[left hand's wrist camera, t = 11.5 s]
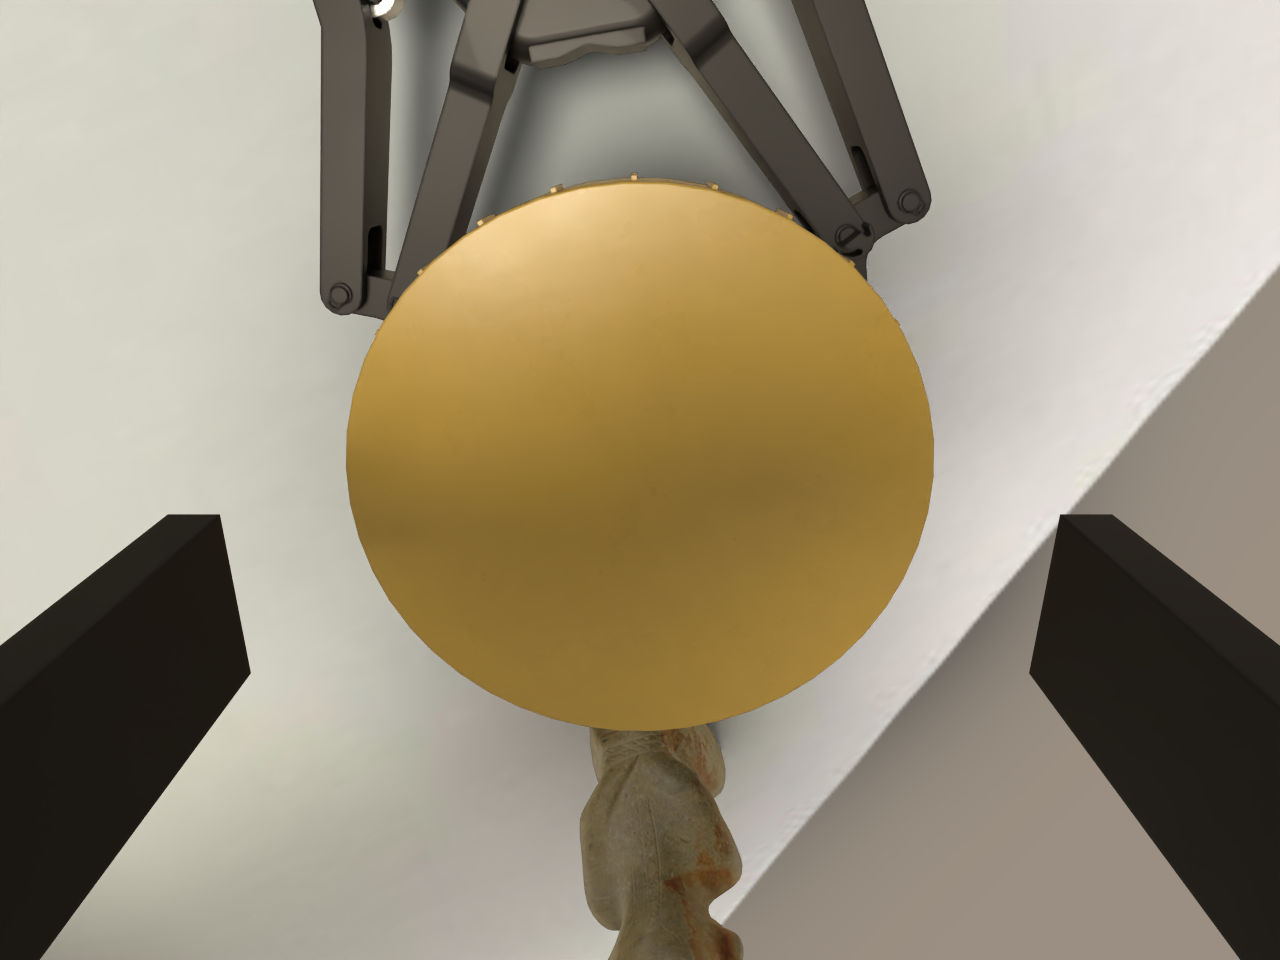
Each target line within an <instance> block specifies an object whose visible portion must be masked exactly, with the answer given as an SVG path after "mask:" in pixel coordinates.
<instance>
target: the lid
mask: <svg viewBox="0 0 1280 960" xmlns="http://www.w3.org/2000/svg"><path fill="white" fill-rule="evenodd" d="M718 186H719V185H717V184H715V183H713V182H710V181H707V184H706V185H704V184H698V183H692V182H685V181H679V180H673V179H666V178H637V173H632V174H631V178H617V179H609V180H601V181H593V182H586V183H582V184H578V185H574V186H571V187H567V188H563V185H562V184H559V185H556V186H554V187H552V188H550V191H551V192H549V193H546V194H544V195H541V196H539V197H537V198H534V199H532V200H530V201H527V202H525V203H523V204H520V205H518V206H516V207H513V208H511V209H509V210H507V211H505V212H503V213H501V214H499V215H497V216H496V217H495V215H494V214H492V215H489V216H487V217H485V218H483V219H481V220H479V221H478V222H477V224H478V226H479V227H477V228H476V229H474V230H472V231H471V232H469V233H467V234H466V235H464V236H463V237H461V238H460V239H459V240H458V241H457V242H455V243H454V244H453V245H452V246H450V247H449V248H448V249H447V250H445V251H444V252H443V253H442V254H441V255H439V256H438V257H437V258H436V259H434V260H433V261H432V262H431V263H430V264H428V265H426V266H425V267H423V268H421V269H420V270H419V271H418V272H417V273H418V274H419V276H418V277H417V278H416V279H415V280H414V281H413V282H412V283H411V285H410V286H409V287H408V288H407V289H406V290H405V291H404V292H403V294H402V295H401V297H400V298H399V300H398V301H397V303H396V304H395V305H394V307H393V308H392V310H391V311H390V313H389V314H388V316H387V317H386V319H385V320H384V322H383V323H382V324H381V326H380V329H378V330H377V332H376V334H375V335H376V337H375V339H374V341H373V343H372V345H371V347H370V349H369V351H368V353H367V355H366V357H365V359H364V362H363V365H362V369H361V372H360V375H359V378H358V381H357V384H356V387H355V390H354V393H353V398H352V404H351V410H350V416H349V422H348V428H347V447H346V472H347V481H348V489H349V498H350V505H351V509H352V512H353V516H354V520H355V524H356V528H357V532H358V536H359V539H360V541H361V544H362V546H363V549H364V551H365V554H366V556H367V558H368V561H369V563H370V566H371V568H372V571H373V572H374V574H375V576H376V578H377V579H378V581H379V583H380V585H381V586H382V588H383V590H384V592H385V593H386V595H387V597H388V599H389V600H390V602H391V603H392V604H393V606H394V607H395V608H396V610H397V611H398V612H399V614H400V615H401V616H402V618H403V619H404V620H405V622H406V623H407V624H408V626H409V627H410V628H411V629H412V630H413V631H414V632H415V633H416V634H417V635H418V636H419V638H420V639H421V640H422V641H423V642H424V643H425V644H426V645H427V646H428V647H429V648H430V649H431V650H432V651H433V652H434V653H435V654H436V655H438V656H439V657H440V658H441V659H443V660H444V661H445V662H446V663H448V664H449V665H450V666H451V667H452V668H454V669H455V670H456V671H457V672H459V673H460V674H461V675H463V676H464V677H466V678H468V679H469V680H471V681H472V682H474V683H475V684H477V685H479V686H480V687H482V688H483V689H485V690H486V691H488V692H490V693H492V694H494V695H496V696H498V697H500V698H502V699H504V700H506V701H508V702H510V703H512V704H514V705H516V706H519V707H521V708H524V709H526V710H529V711H532V712H535V713H538V714H541V715H543V716H546V717H549V718H552V719H556V720H560V721H565V722H569V723H573V724H577V725H582V726H587V727H595V728H603V729H611V730H626V731H657V730H667V729H678V728H687V727H692V726H697V725H702V724H707V723H712V722H716V721H721V720H724V719H727V718H730V717H733V716H736V715H739V714H742V713H745V712H749V711H752V710H754V709H756V708H758V707H761V706H763V705H765V704H767V703H770V702H772V701H774V700H776V699H778V698H781V697H783V696H785V695H786V694H788V693H790V692H791V691H793V690H795V689H796V688H798V687H800V686H801V685H803V684H805V683H806V682H808V681H810V680H811V679H813V678H814V677H816V676H817V675H818V674H820V673H821V672H822V671H823V670H825V669H826V668H827V667H829V666H830V665H831V664H833V663H834V662H835V661H837V660H838V659H839V658H840V657H841V656H842V655H843V654H844V653H845V652H846V651H847V650H848V649H850V648H851V647H852V646H853V645H854V644H855V643H856V642H857V641H858V640H859V639H860V638H861V637H862V636H863V635H864V634H865V633H866V631H867V630H868V629H869V628H870V626H871V625H872V624H873V623H874V621H875V620H876V619H877V618H878V616H879V615H880V614H881V613H882V611H883V610H884V609H885V608H886V606H887V604H888V603H889V601H890V600H891V598H892V596H893V595H894V593H895V591H896V590H897V588H898V586H899V585H900V583H901V582H902V580H903V578H904V576H905V574H906V572H907V570H908V567H909V565H910V563H911V561H912V558H913V556H914V554H915V552H916V549H917V547H918V544H919V541H920V538H921V534H922V531H923V527H924V524H925V521H926V517H927V514H928V509H929V502H930V496H931V489H932V482H933V467H934V438H933V431H932V423H931V416H930V408H929V402H928V399H927V395H926V392H925V388H924V385H923V381H922V378H921V374H920V370H919V367H918V365H917V363H916V360H915V358H914V356H913V354H912V352H911V349H910V347H909V345H908V343H907V340H906V338H905V336H904V334H903V332H902V330H901V329H900V327H899V326H900V324H899V322H898V321H897V320H896V319H894V318H893V316H892V314H891V313H890V311H889V310H888V308H887V307H886V305H885V303H884V302H883V300H882V299H881V298H880V297H879V295H878V294H877V293H876V292H875V291H874V290H873V288H872V287H871V286H870V285H869V284H868V283H867V281H866V280H865V279H864V278H863V277H862V276H861V274H860V273H859V272H858V271H857V270H856V269H855V268H854V267H853V266H854V265H855V264H854V263H853V261H851V260H849V259H848V258H846V257H844V256H842V255H840V254H838V253H837V252H836V251H835V250H834V249H832V248H831V247H830V246H829V245H828V244H827V243H825V242H824V241H823V240H821V239H820V238H818V237H816V236H815V235H813V234H812V233H810V232H809V231H807V230H806V229H804V228H803V227H801V226H799V225H798V224H796V223H795V222H793V221H792V218H793V216H792V215H791V214H789V213H787V212H784V211H782V210H780V209H778V208H777V210H776V211H775V212H774V211H772V210H770V209H768V208H766V207H763V206H761V205H759V204H757V203H755V202H753V201H751V200H748V199H746V198H744V197H742V196H740V195H736V194H733V193H730V192H727V191H723V190H720V189H718Z"/></svg>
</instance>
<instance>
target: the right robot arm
mask: <svg viewBox="0 0 1280 960" xmlns="http://www.w3.org/2000/svg"><path fill="white" fill-rule="evenodd" d="M454 1H455V2H456V3H457V5H458V6H459V7H460V8H461V9H462V10H463V11H464V12H465V17H464V20H463V24H462V27H461V31H460V34H459V38H458V41H457V45H456V48H455V51H454V55H453V59H452V63H451V67H450V82H449V87H448V91H447V94H446V98H445V101H444V105H443V108H442V112H441V115H440V119H439V122H438V126H437V129H436V132H435V136H434V139H433V143H432V146H431V150H430V153H429V157H428V160H427V164H426V167H425V170H424V174H423V177H422V181H421V184H420V188H419V191H418V195H417V198H416V202H415V205H414V209H413V212H412V215H411V219H410V222H409V226H408V229H407V233H406V236H405V240H404V243H403V247H402V250H401V253H400V257H399V260H398V264H397V267H396V271H395V272H394V271H389V270H385V264H386V233H387V202H388V171H389V140H390V109H391V78H392V45H391V37H390V29H389V24H388V21H389V20H392V19H394V18H396V17H397V16H398V15H399V14H400V12H401V10H402V9H403V5H404V0H313V2H314V6H315V9H316V12H317V15H318V19H319V22H320V25H321V172H320V295H321V300H322V302H323V303H324V305H325V307H326V308H328V309H329V310H330V311H331V312H333V313H335V314H338V315H349V314H351V313H353V314H358V315H363V316H369V317H374V318H378V319H381V320H385V319H386V317H387V316H388V314H389V313H390V311H391V310H392V308H393V307H394V305H395V304H396V303H397V301H398V300H399V298H400V297H401V295H402V294H403V292H404V291H405V290H406V289H407V288H408V287H409V286H410V285H411V283H412V282H413V281H414V280H415V279H416V278H417V277H418V276H419V274H418V273H417V272H418V271H419V270H420V269H421V268H423V267H425V266H426V265H428V264H430V263H431V262H432V261H433V260H434V259H436V258H437V257H438V256H439V255H441V254H442V253H443V252H444V251H445V250H447V249H448V248H449V247H450V246H452V245H453V244H454V243H455V242H457V241H458V240H459V239H460V238H461V237H463V236H464V235H465V234H466V231H467V228H468V225H469V221H470V218H471V215H472V212H473V209H474V206H475V202H476V199H477V196H478V193H479V190H480V186H481V183H482V180H483V177H484V174H485V170H486V167H487V164H488V161H489V158H490V155H491V151H492V148H493V145H494V142H495V139H496V135H497V132H498V129H499V126H500V123H501V119H502V116H503V113H504V110H505V107H506V105H507V102H508V101H509V99H510V97H511V95H512V92H513V89H514V86H515V83H516V80H517V77H518V74H519V71H520V68H521V64H522V63H524V64H527V65H531V66H536V67H537V68H539V69H543V68H549V67H555V66H560V65H566V64H568V63H570V62H572V61H574V60H576V59H578V58H580V57H582V56H584V55H586V54H588V53H590V52H598V53H607V54H615V55H623V54H628V53H634V52H640V51H645V50H646V47H647V46H649V45H651V44H653V43H654V42H656V41H657V40H659V39H660V38H661V37H662V38H663V39H664V41H665V42H666V43H667V45H668V46H669V47H670V49H671V50H672V51H673V53H674V54H675V55H676V57H677V58H678V59H679V61H680V62H681V63H682V65H683V66H684V67H685V68H686V69H687V70H688V71H689V72H690V74H691V75H692V76H693V77H694V79H695V80H696V82H697V83H698V84H699V86H700V87H701V88H702V90H703V91H704V92H705V94H706V95H707V97H708V98H709V99H710V101H711V102H712V103H713V105H714V106H715V107H716V109H717V110H718V111H719V113H720V114H721V116H722V117H723V118H724V120H725V121H726V122H727V124H728V125H729V126H730V128H731V129H732V131H733V132H734V133H735V135H736V136H737V137H738V139H739V140H740V141H741V143H742V144H743V146H744V147H745V148H746V150H747V151H748V152H749V154H750V155H751V156H752V158H753V159H754V161H755V162H756V163H757V165H758V166H759V167H760V169H761V170H762V171H763V173H764V174H765V176H766V177H767V178H768V180H769V181H770V182H771V184H772V185H773V186H774V188H775V189H776V191H777V192H778V193H779V195H780V196H781V197H782V199H783V200H784V201H785V203H786V204H787V206H788V207H789V208H790V210H791V211H792V212H793V214H794V215H795V216H796V218H797V219H798V221H799V222H800V223H801V225H802V226H803V227H804V229H806V230H807V231H809V232H810V233H812V234H813V235H815V236H816V237H818V238H820V239H821V240H823V241H824V242H825V243H827V244H828V245H829V246H830V247H831V248H832V249H834V250H835V251H836V252H837V253H838V254H840V255H842V256H844V257H846V258H848V259H849V260H851V261H853V263H854V264H855V265H854V266H853V267H854V268H855V269H856V270H857V271H858V272H859V273H860V274H861V276H862V277H863V278H864V279H865V280H866V281H867V271H866V260H867V255H868V253H869V252H870V251H871V250H872V247H873V245H874V243H875V242H876V241H877V240H878V239H880V238H881V237H882V236H884V235H886V234H888V233H890V232H892V231H893V230H895V229H897V228H899V227H901V226H903V225H904V224H911V223H915V222H918V221H919V220H920V219H922V218H923V217H924V216H925V215H926V213H927V212H928V210H929V209H930V204H931V193H930V189H929V186H928V184H927V181H926V178H925V175H924V172H923V169H922V166H921V163H920V160H919V157H918V155H917V152H916V149H915V146H914V143H913V140H912V137H911V134H910V131H909V129H908V126H907V123H906V120H905V117H904V114H903V111H902V108H901V105H900V103H899V100H898V97H897V94H896V91H895V88H894V85H893V82H892V79H891V76H890V74H889V71H888V68H887V65H886V62H885V59H884V56H883V53H882V50H881V48H880V45H879V42H878V39H877V36H876V33H875V30H874V27H873V24H872V21H871V19H870V16H869V13H868V10H867V7H866V4H865V1H864V0H792V3H793V6H794V8H795V11H796V14H797V16H798V19H799V22H800V25H801V27H802V30H803V33H804V35H805V38H806V41H807V43H808V46H809V49H810V51H811V54H812V57H813V59H814V62H815V65H816V67H817V70H818V73H819V75H820V78H821V81H822V84H823V86H824V89H825V92H826V94H827V97H828V100H829V102H830V105H831V108H832V110H833V113H834V116H835V118H836V121H837V124H838V126H839V129H840V132H841V134H842V137H843V140H844V143H845V145H846V148H847V151H848V153H849V156H850V159H851V161H852V164H853V167H854V169H855V172H856V175H857V177H858V180H859V183H860V185H861V188H862V191H861V192H859V193H858V194H856V195H854V196H852V197H850V198H849V199H848V198H847V196H846V195H845V193H844V192H843V190H842V189H841V188H840V186H839V185H838V183H837V182H836V181H835V179H834V178H833V176H832V175H831V173H830V172H829V171H828V169H827V168H826V166H825V165H824V164H823V162H822V161H821V159H820V158H819V157H818V155H817V154H816V152H815V151H814V149H813V148H812V147H811V145H810V144H809V142H808V141H807V140H806V138H805V137H804V135H803V134H802V132H801V131H800V130H799V128H798V127H797V125H796V124H795V123H794V121H793V120H792V118H791V117H790V115H789V114H788V113H787V111H786V110H785V108H784V107H783V106H782V104H781V103H780V101H779V100H778V99H777V97H776V96H775V94H774V93H773V91H772V90H771V89H770V87H769V86H768V84H767V83H766V82H765V80H764V79H763V77H762V76H761V74H760V73H759V72H758V70H757V69H756V67H755V66H754V65H753V63H752V62H751V60H750V59H749V58H748V56H747V55H746V53H745V52H744V50H743V49H742V48H741V46H740V45H739V43H738V42H737V41H736V39H735V38H734V36H733V35H732V33H731V31H730V29H729V27H728V25H727V23H726V21H725V19H724V17H723V16H722V14H721V13H720V11H719V10H718V8H717V7H716V6H715V4H714V3H713V1H712V0H454Z"/></svg>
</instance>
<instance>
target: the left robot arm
mask: <svg viewBox="0 0 1280 960" xmlns="http://www.w3.org/2000/svg"><path fill="white" fill-rule="evenodd" d="M250 674H251V672H250V667H249V661H248V656H247V651H246V646H245V641H244V636H243V631H242V626H241V621H240V615H239V610H238V605H237V600H236V595H235V590H234V585H233V580H232V574H231V569H230V564H229V559H228V554H227V549H226V544H225V539H224V534H223V528H222V523H221V518H220V515H167V516H165V517H164V518H163V519H161V520H160V521H159V522H158V523H156V524H155V525H154V526H153V527H151V528H150V529H149V530H147V531H146V532H145V533H144V534H142V535H141V536H140V537H138V538H137V539H136V540H135V541H133V542H132V543H131V544H130V545H128V546H127V547H126V548H124V549H123V550H122V551H121V552H119V553H118V554H117V555H115V556H114V557H113V558H112V559H110V560H109V561H108V562H107V563H105V564H104V565H103V566H101V567H100V568H99V569H98V570H96V571H95V572H94V573H92V574H91V575H90V576H89V577H87V578H86V579H85V580H84V581H82V582H81V583H80V584H78V585H77V586H76V587H75V588H73V589H72V590H71V591H69V592H68V593H67V594H66V595H64V596H63V597H62V598H61V599H59V600H58V601H57V602H55V603H54V604H53V605H52V606H50V607H49V608H48V609H46V610H45V611H44V612H43V613H41V614H40V615H39V616H38V617H36V618H35V619H34V620H32V621H31V622H30V623H29V624H27V625H26V626H25V627H23V628H22V629H21V630H20V631H18V632H17V633H16V634H15V635H13V636H12V637H11V638H9V639H8V640H7V641H6V642H4V643H3V644H2V645H0V960H40V959H41V957H42V956H43V955H44V953H45V952H46V950H47V949H48V948H49V946H50V945H51V944H52V942H53V941H54V940H55V938H56V937H57V936H58V934H59V933H60V931H61V930H62V929H63V927H64V926H65V925H66V923H67V922H68V921H69V919H70V918H71V917H72V915H73V914H74V912H75V911H76V910H77V908H78V907H79V906H80V904H81V903H82V902H83V900H84V899H85V898H86V896H87V895H88V893H89V892H90V891H91V889H92V888H93V887H94V885H95V884H96V883H97V881H98V880H99V879H100V877H101V876H102V874H103V873H104V872H105V870H106V869H107V868H108V866H109V865H110V864H111V862H112V861H113V860H114V858H115V857H116V855H117V854H118V853H119V851H120V850H121V849H122V847H123V846H124V845H125V843H126V842H127V841H128V839H129V838H130V836H131V835H132V834H133V832H134V831H135V830H136V828H137V827H138V826H139V824H140V823H141V822H142V820H143V819H144V817H145V816H146V815H147V813H148V812H149V811H150V809H151V808H152V807H153V805H154V804H155V803H156V801H157V800H158V798H159V797H160V796H161V794H162V793H163V792H164V790H165V789H166V788H167V786H168V785H169V784H170V782H171V781H172V779H173V778H174V777H175V775H176V774H177V773H178V771H179V770H180V769H181V767H182V766H183V765H184V763H185V762H186V760H187V759H188V758H189V756H190V755H191V754H192V752H193V751H194V750H195V748H196V747H197V746H198V744H199V743H200V741H201V740H202V739H203V737H204V736H205V735H206V733H207V732H208V731H209V729H210V728H211V727H212V725H213V724H214V722H215V721H216V720H217V718H218V717H219V716H220V714H221V713H222V712H223V710H224V709H225V708H226V706H227V705H228V703H229V702H230V701H231V699H232V698H233V697H234V695H235V694H236V693H237V691H238V690H239V689H240V687H241V686H242V684H243V683H244V682H245V680H246V679H247V678H248V676H249V675H250ZM1029 674H1030V675H1031V676H1032V678H1033V679H1034V680H1035V682H1036V683H1037V684H1038V686H1039V687H1040V689H1041V690H1042V691H1043V693H1044V694H1045V695H1046V697H1047V698H1048V699H1049V701H1050V702H1051V703H1052V705H1053V706H1054V708H1055V709H1056V710H1057V712H1058V713H1059V714H1060V716H1061V717H1062V718H1063V720H1064V721H1065V722H1066V724H1067V725H1068V727H1069V728H1070V729H1071V731H1072V732H1073V733H1074V735H1075V736H1076V737H1077V739H1078V740H1079V741H1080V743H1081V744H1082V746H1083V747H1084V748H1085V750H1086V751H1087V752H1088V754H1089V755H1090V756H1091V758H1092V759H1093V760H1094V762H1095V763H1096V764H1097V766H1098V767H1099V769H1100V770H1101V771H1102V773H1103V774H1104V775H1105V777H1106V778H1107V779H1108V781H1109V782H1110V784H1111V785H1112V786H1113V788H1114V789H1115V790H1116V792H1117V793H1118V794H1119V796H1120V797H1121V798H1122V800H1123V801H1124V803H1125V804H1126V805H1127V807H1128V808H1129V809H1130V811H1131V812H1132V813H1133V815H1134V816H1135V817H1136V819H1137V820H1138V821H1139V823H1140V824H1141V826H1142V827H1143V828H1144V830H1145V831H1146V832H1147V834H1148V835H1149V836H1150V838H1151V839H1152V840H1153V842H1154V843H1155V845H1156V846H1157V847H1158V849H1159V850H1160V851H1161V853H1162V854H1163V855H1164V857H1165V858H1166V859H1167V861H1168V862H1169V864H1170V865H1171V866H1172V868H1173V869H1174V870H1175V872H1176V873H1177V874H1178V876H1179V877H1180V878H1181V880H1182V881H1183V883H1184V884H1185V885H1186V887H1187V888H1188V889H1189V891H1190V892H1191V893H1192V895H1193V896H1194V898H1195V899H1196V900H1197V902H1198V903H1199V904H1200V906H1201V907H1202V908H1203V910H1204V911H1205V912H1206V914H1207V915H1208V917H1209V918H1210V919H1211V921H1212V922H1213V923H1214V925H1215V926H1216V927H1217V929H1218V930H1219V931H1220V933H1221V934H1222V936H1223V937H1224V938H1225V940H1226V941H1227V942H1228V944H1229V945H1230V946H1231V948H1232V949H1233V950H1234V952H1235V953H1236V955H1237V956H1238V957H1239V959H1240V960H1280V646H1279V645H1278V644H1277V643H1276V642H1274V641H1273V640H1272V639H1271V638H1269V637H1268V636H1267V635H1265V634H1264V633H1263V632H1262V631H1260V630H1259V629H1258V628H1256V627H1255V626H1254V625H1253V624H1251V623H1250V622H1249V621H1247V620H1246V619H1245V618H1244V617H1242V616H1241V615H1240V614H1239V613H1237V612H1236V611H1235V610H1233V609H1232V608H1231V607H1230V606H1228V605H1227V604H1226V603H1225V602H1223V601H1222V600H1221V599H1219V598H1218V597H1217V596H1215V595H1214V594H1213V593H1212V592H1211V591H1209V590H1208V589H1207V588H1205V587H1204V586H1203V585H1202V584H1200V583H1199V582H1198V581H1196V580H1195V579H1194V578H1193V577H1191V576H1190V575H1189V574H1188V573H1186V572H1185V571H1184V570H1182V569H1181V568H1180V567H1179V566H1177V565H1176V564H1175V563H1173V562H1172V561H1171V560H1170V559H1168V558H1167V557H1166V556H1165V555H1163V554H1162V553H1161V552H1159V551H1158V550H1157V549H1156V548H1154V547H1153V546H1152V545H1150V544H1149V543H1148V542H1147V541H1145V540H1144V539H1143V538H1142V537H1140V536H1139V535H1138V534H1136V533H1135V532H1134V531H1133V530H1131V529H1130V528H1129V527H1127V526H1126V525H1125V524H1124V523H1122V522H1121V521H1120V520H1119V519H1117V518H1116V517H1115V516H1113V515H1060V518H1059V523H1058V528H1057V534H1056V539H1055V544H1054V549H1053V554H1052V559H1051V564H1050V569H1049V574H1048V580H1047V585H1046V590H1045V595H1044V600H1043V605H1042V610H1041V616H1040V621H1039V626H1038V631H1037V636H1036V641H1035V646H1034V651H1033V656H1032V661H1031V667H1030V672H1029Z"/></svg>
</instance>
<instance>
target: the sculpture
mask: <svg viewBox="0 0 1280 960" xmlns="http://www.w3.org/2000/svg"><path fill="white" fill-rule="evenodd" d="M590 744H591V752H592V760H593V766H594V769H595V773H596V776H597V779H598V785H597V787H596V788H595V790H594V792H593V793H592V795H591V797H590V799H589V801H588V802H587V804H586V806H585V808H584V810H583V812H582V815H581V819H580V841H581V851H582V864H583V877H584V887H585V894H586V899H587V903H588V906H589V909H590V910H591V912H592V914H593V916H594V917H595V918H596V920H597V921H598V922H599V923H600V924H601V925H602V926H604V927H605V928H607V929H609V930H620V932H619V935H618V938H617V941H616V944H615V946H614V948H613V950H612V952H611V955H610V957H609V959H608V960H743V945H742V942H741V939H740V938H739V936H738V935H737V934H735V933H734V932H732V931H730V930H728V929H725V928H723V926H722V925H720V924H719V923H718V922H717V921H715V920H714V919H712V918H711V917H710V914H709V912H708V907H709V905H710V904H711V903H712V901H713V900H714V899H716V898H717V897H719V896H720V895H721V894H723V893H724V892H726V891H727V890H729V889H730V888H732V887H733V886H734V885H735V884H736V883H737V882H738V881H739V879H740V877H741V874H742V861H741V857H740V854H739V852H738V849H737V847H736V844H735V842H734V840H733V837H732V835H731V833H730V830H729V829H728V827H727V825H726V823H725V821H724V820H723V818H722V816H721V814H720V811H719V809H718V807H717V804H716V802H715V800H714V798H715V797H716V796H717V795H718V794H719V793H720V792H721V791H722V789H723V787H724V783H725V765H724V759H723V756H722V753H721V750H720V747H719V745H718V743H717V741H716V739H715V737H714V736H713V734H712V732H711V731H710V729H709V728H708V726H707V725H706V724H702V725H697V726H692V727H687V728H678V729H667V730H657V731H626V730H611V729H603V728H595V727H590Z"/></svg>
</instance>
